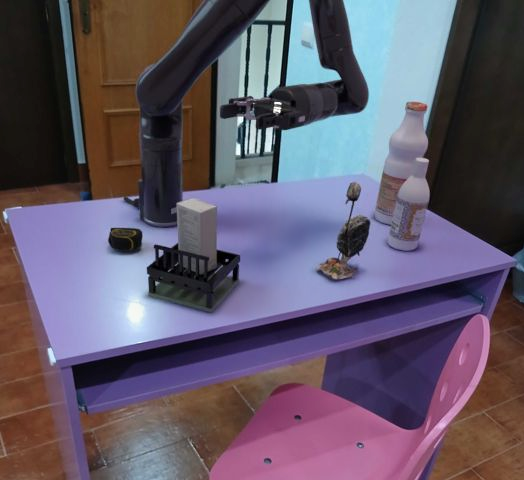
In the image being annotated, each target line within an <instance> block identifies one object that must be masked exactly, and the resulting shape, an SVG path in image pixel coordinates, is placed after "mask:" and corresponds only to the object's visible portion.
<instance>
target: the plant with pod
mask: <svg viewBox="0 0 524 480" xmlns="http://www.w3.org/2000/svg"><path fill="white" fill-rule="evenodd" d="M361 192H362V186H361V185H360V183H358V182H356V181H353V182H350V183H349V186H348V188H347V190H346V195H345V196H346V200H345V205H347V204H348V203H349V202H352V203H351V207H350V211H349V215H348V219H347V220H346V221H345V223H344V224H343V225H342V227H341V228H340V231H339V233H338V234H337V236H336V237H337V239H336V249H337V250H338V251H339V252H338V253H339V254H338V256H337V257H329V258H327V259H326V261H324V262H322V263H319V265H318V266H317V267H316V268H315V270H316V271H322V272H321V273H323V274H324V275H325V276H327V277H328V278H329V279H330V280H335V281H336V280H337V281H338V280H342V279H346V278H352V277H353V276H354V274H355V273H356V272H357V269H358V268H357V267H352V266H349V265H348V262H349V261H350V259H351V258H353V257H355V256H356V255H357V256H360V252H362V250H363V249H364V247H365V245H366V243H367V240H368V237H369V235H370V228H371V227H370V226H371V220H370V219H369V217H368V216H364V215H361V214H359V215H356V216H353V217H352V215H353V210H354V206H355V203H356V202H357V201H358V200H359V198H360V197H361ZM371 219H373V217H371ZM341 255H342V256H341ZM340 256H341V258H340Z"/></svg>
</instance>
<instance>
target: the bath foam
mask: <svg viewBox="0 0 524 480" xmlns="http://www.w3.org/2000/svg"><path fill="white" fill-rule="evenodd" d="M429 163H430V160H429V159H428V158H425V157H423V158H416V159H415V163H414V167H413V172H412V175H411V176H410V177H409V178H408V179H407V180H406V181H405V182H404V184H403V185H402V186H401V188H400V190H399V193H398V196H397V201H396V205H395V210H394V214H393V219H392V223H391V225H390V230H389V232H388V233H389V234H388V238H387V244H388V245H389V246H390V247H391V248H393V249H396V250H398V251H404V252H409V251H414V250H416V249H417V247H418V245H419V241H420V238H421V233H422V229H423V225H424V221H425V218H426V214H427V211H428V206H429V203H430V196H431V192H430V187H429V184H428V181H427V179H426V175H427V171H428V167H429Z"/></svg>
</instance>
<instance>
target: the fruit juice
mask: <svg viewBox="0 0 524 480" xmlns="http://www.w3.org/2000/svg"><path fill="white" fill-rule="evenodd" d="M404 111H405V114H404V117H403V119H402V122H401V124H400V125H399V126H398V128H397V129H395V130H394V131H393V133H392V134H391V135H390V138H389V141H388V154H387V157H386V158H385V159H384V160H385V161H384V164H383V168H382V173H381V178H380V183H379V188H378V192H377V199H376V202H375V203H376V204H375V209H374V218H375V220H376V221H378V222H379V223H381V224H384V225H389V226H391V223H392V219H393V214H394V210H395V205H396V201H397V196H398V193H399V190H400V188H401V186H402V185H403V184H404V182H405V181H406V180H407V179H408V178H409V177H410V176H411V175H412V172H413V167H414V163H415V159H416V158H424V157H425V154H426V153H427V151H428V147H429V139H428V136H427V134H426V131H425V125H424V119H425V118H424V117H425V114H426V113H427V111H428V105H427V104H426V103H425V102H420V101H407V102H406V104H405V107H404Z"/></svg>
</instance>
